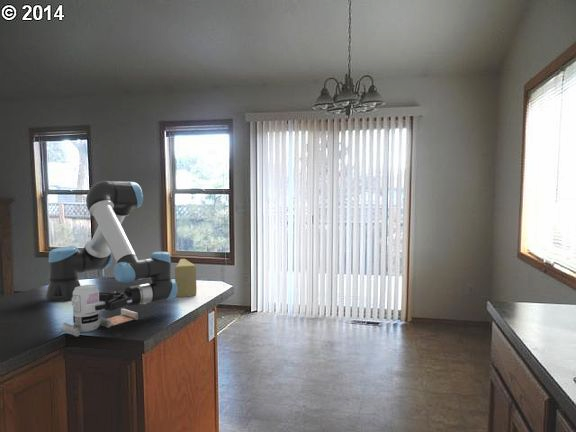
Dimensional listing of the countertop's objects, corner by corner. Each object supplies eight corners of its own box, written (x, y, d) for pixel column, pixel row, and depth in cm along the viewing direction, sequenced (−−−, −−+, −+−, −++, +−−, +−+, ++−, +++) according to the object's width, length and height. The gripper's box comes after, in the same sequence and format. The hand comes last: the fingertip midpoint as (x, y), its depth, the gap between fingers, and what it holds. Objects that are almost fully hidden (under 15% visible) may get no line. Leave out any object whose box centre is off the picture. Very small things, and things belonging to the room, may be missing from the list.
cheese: (173, 287, 203) (173, 258, 202) (192, 285, 206) (192, 257, 205) (175, 297, 182) (175, 265, 181) (196, 296, 185) (196, 264, 185)
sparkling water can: (79, 325, 143) (78, 284, 142) (103, 324, 144) (102, 284, 143) (69, 333, 135) (68, 290, 134) (94, 332, 136) (93, 289, 135)
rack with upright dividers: (62, 330, 137) (62, 323, 137) (123, 314, 156) (123, 308, 156) (76, 336, 131) (76, 329, 131) (137, 319, 150) (137, 312, 150)
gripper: (152, 311, 143) (89, 324, 128) (125, 298, 161) (67, 308, 146) (151, 291, 142) (89, 301, 128) (124, 280, 160) (67, 288, 146)
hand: (77, 305), depth 137 cm, fingers open, 13 cm apart
